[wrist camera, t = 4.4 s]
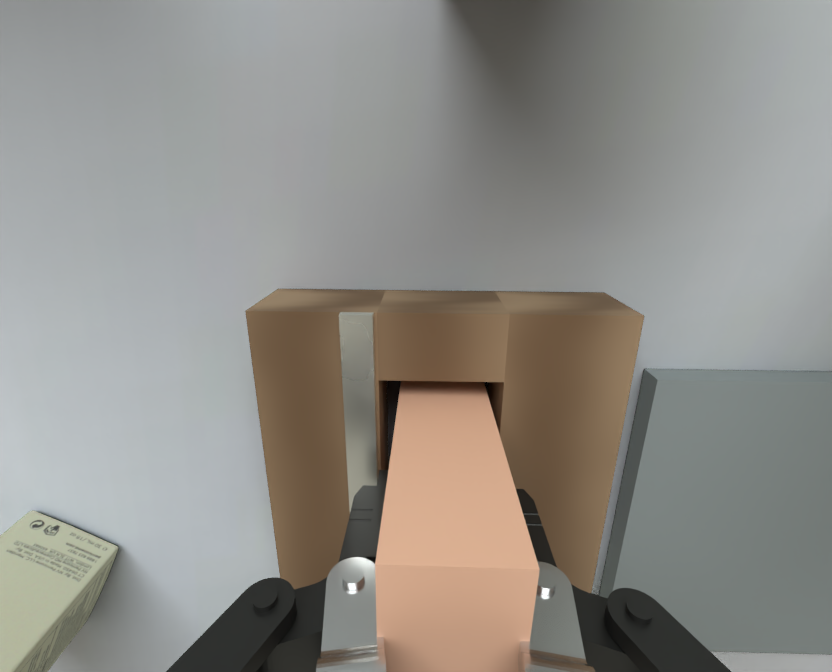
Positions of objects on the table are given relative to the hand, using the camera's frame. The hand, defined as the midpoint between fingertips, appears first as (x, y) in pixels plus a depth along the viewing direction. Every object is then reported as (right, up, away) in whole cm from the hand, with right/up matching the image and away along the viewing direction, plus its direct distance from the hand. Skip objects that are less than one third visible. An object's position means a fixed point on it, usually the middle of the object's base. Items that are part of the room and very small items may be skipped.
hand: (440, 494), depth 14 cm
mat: (+15, -3, +5) cm, 16 cm away
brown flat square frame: (0, +1, +4) cm, 4 cm away
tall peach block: (0, +1, +3) cm, 3 cm away
